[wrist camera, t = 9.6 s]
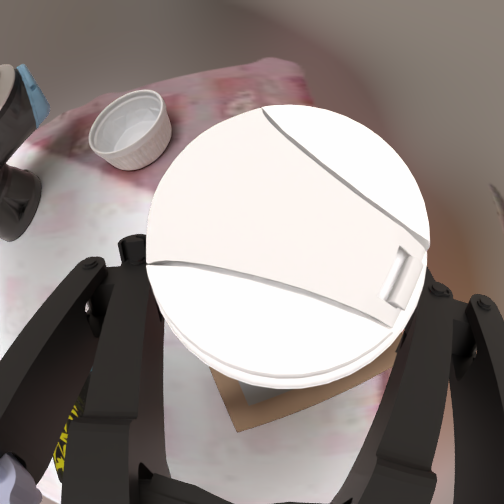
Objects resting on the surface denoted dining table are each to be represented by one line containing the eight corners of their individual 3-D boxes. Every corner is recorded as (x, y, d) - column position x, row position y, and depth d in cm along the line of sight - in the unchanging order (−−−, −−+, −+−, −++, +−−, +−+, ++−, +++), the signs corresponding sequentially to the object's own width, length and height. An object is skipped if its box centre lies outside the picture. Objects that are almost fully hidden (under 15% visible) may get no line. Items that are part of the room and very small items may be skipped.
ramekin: (143, 108, 47) (128, 83, 40) (194, 126, 44) (181, 97, 37) (96, 162, 45) (75, 141, 38) (142, 190, 41) (120, 166, 35)
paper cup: (365, 278, 19) (473, 169, 6) (310, 377, 18) (348, 459, 5) (269, 226, 21) (232, 67, 8) (212, 318, 20) (73, 271, 7)
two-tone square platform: (184, 272, 36) (162, 257, 30) (329, 210, 36) (336, 182, 30) (243, 422, 30) (231, 441, 24) (398, 354, 30) (422, 356, 23)
